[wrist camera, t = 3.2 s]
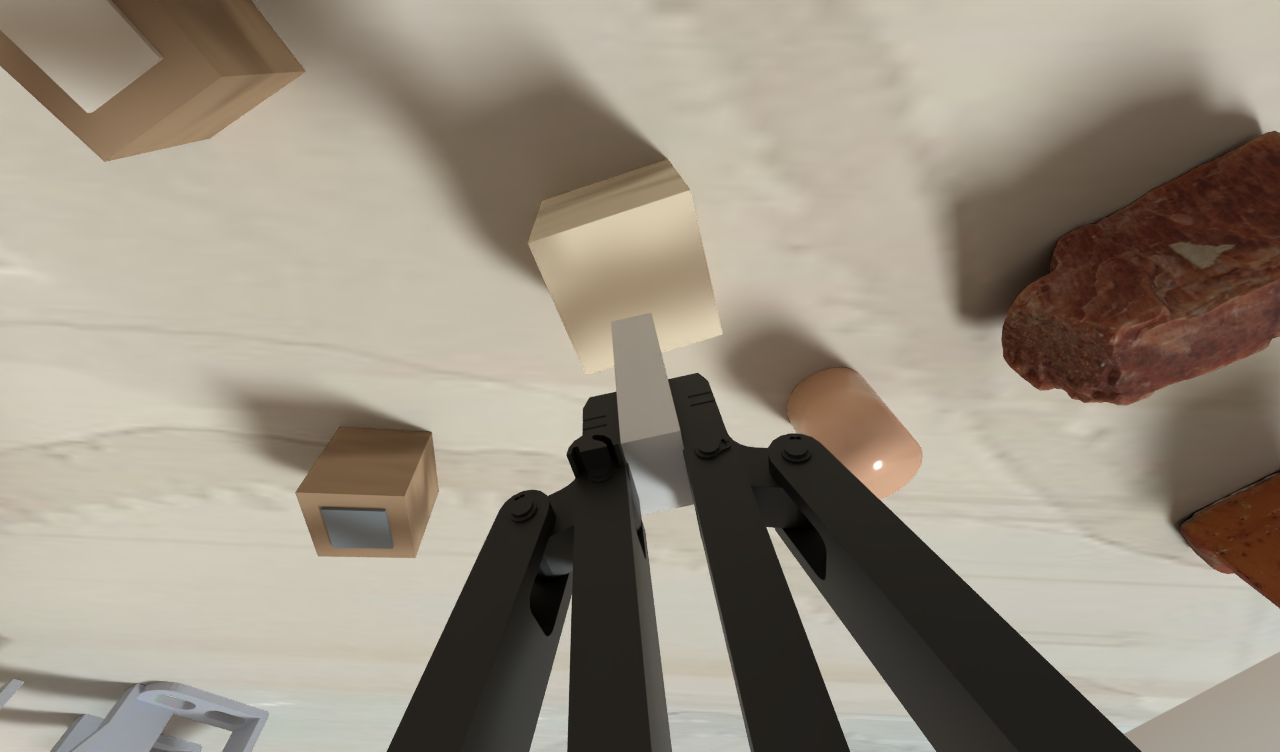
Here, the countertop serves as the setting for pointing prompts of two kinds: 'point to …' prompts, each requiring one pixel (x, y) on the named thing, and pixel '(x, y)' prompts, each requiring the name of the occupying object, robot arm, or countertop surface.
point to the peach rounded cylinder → (855, 428)
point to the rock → (1158, 286)
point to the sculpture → (1242, 535)
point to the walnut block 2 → (370, 493)
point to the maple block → (626, 261)
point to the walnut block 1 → (143, 67)
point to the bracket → (157, 720)
